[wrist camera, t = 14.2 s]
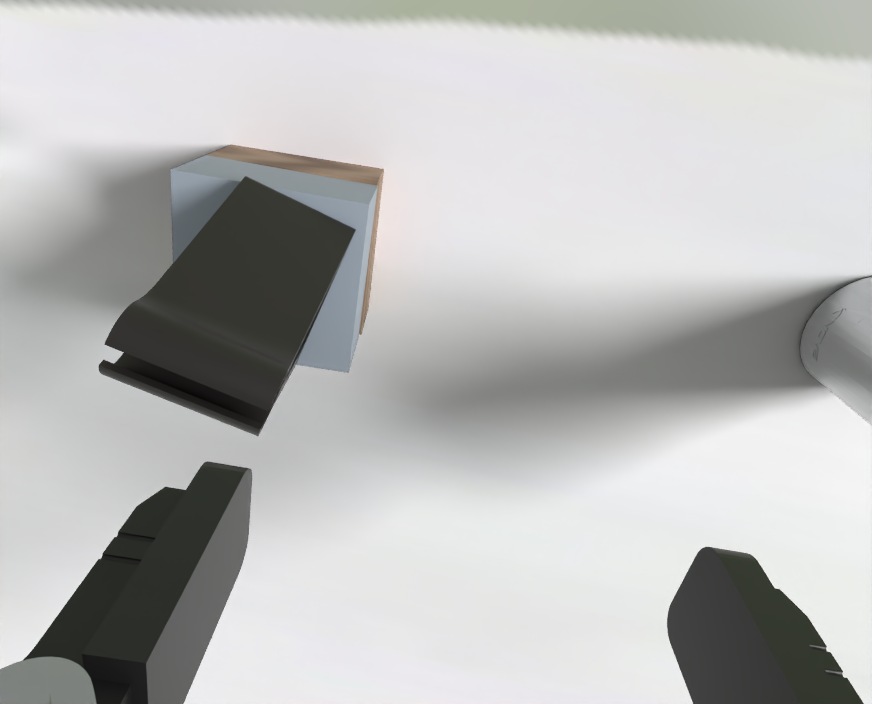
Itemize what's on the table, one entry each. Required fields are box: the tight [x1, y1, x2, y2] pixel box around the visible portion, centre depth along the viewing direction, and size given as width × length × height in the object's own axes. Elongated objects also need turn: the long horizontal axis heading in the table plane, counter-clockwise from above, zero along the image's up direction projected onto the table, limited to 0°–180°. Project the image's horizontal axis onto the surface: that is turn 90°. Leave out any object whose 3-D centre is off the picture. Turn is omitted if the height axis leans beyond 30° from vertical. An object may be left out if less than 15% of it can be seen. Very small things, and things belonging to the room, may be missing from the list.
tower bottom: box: [207, 145, 384, 334], centre depth 38 cm, size 10×10×5 cm
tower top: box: [170, 155, 378, 373], centre depth 34 cm, size 10×10×5 cm
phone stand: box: [99, 176, 356, 436], centre depth 26 cm, size 9×6×12 cm, turn 153°
